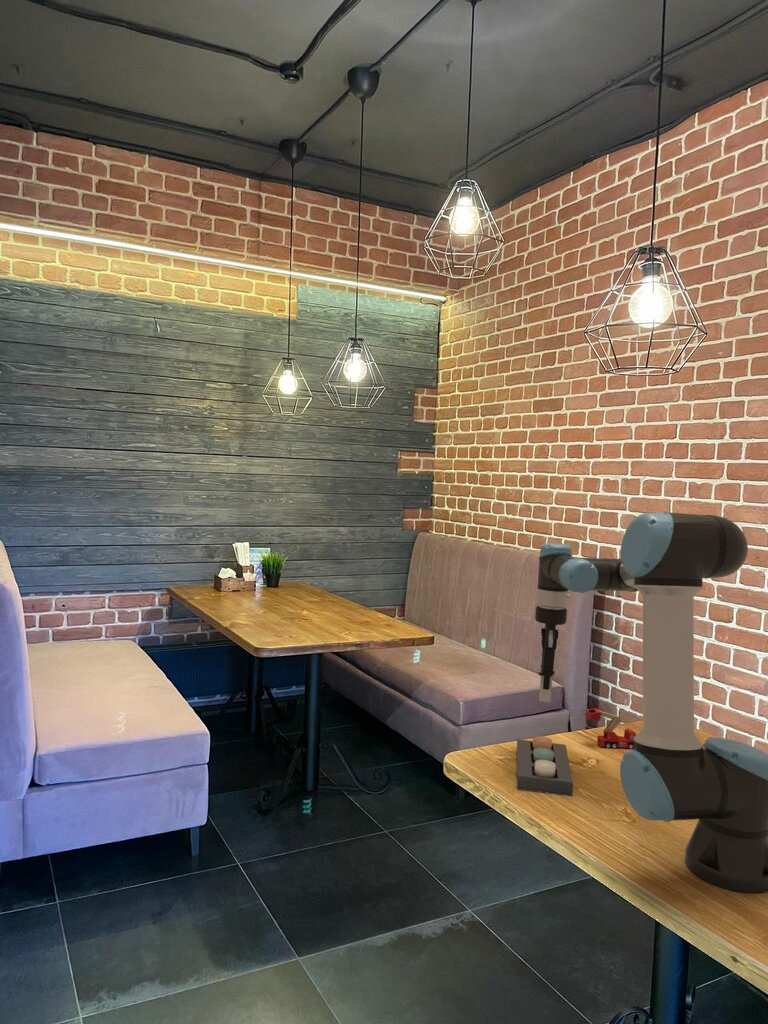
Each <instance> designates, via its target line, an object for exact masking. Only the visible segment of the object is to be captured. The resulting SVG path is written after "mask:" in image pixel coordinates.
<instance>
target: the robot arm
mask: <svg viewBox="0 0 768 1024" xmlns="http://www.w3.org/2000/svg"><path fill="white" fill-rule="evenodd" d="M748 547H749V545H748V541H747V537H746V535H745V534H744V532H743V531H742V529H741V528H740V527H739V526H738V525H737V524H736V523H735V522H734V521H732V520H730V519H728V518H726V517H723V516H719V515H715V514H714V515H713V514H693V513H682V512H680V513H679V512H668V511H667V512H666V511H660V512H645V513H642V514H639V515H637V516H635V518H634V519H632V521H630V523H629V525H628V527H626V530H625V532H624V534H623V537H622V540H621V546H620V558H604V557H603V558H601V557H599V558H597V557H593V558H592V557H578V556H577V557H576V556H573V554H572V547H571V546H570V544H565V543H556V542H548V543H547V542H546V543H542V545H541V546H540V551H539V556H538V572H537V573H538V575H537V586H536V587H537V588H536V595H535V596H536V598H535V604H536V606H535V614H534V619H535V621H536V622H537V623H540V624H544V628H543V627H541V631H540V635H541V642H540V643H541V644H540V645H541V647H542V648H541V649H542V650H541V665H540V668H541V669H540V671H539V672H538V676H540V681H539V696H538V697H539V698H538V701H539V702H545V703H551V699H552V689H553V688H552V687H553V676H554V675H555V673H556V671H554V664H555V656H556V649H557V646H558V645H557V643H558V642H557V641H558V639H559V629H556V627H557V625H558V626H562V625H565V624H566V623H567V617H568V615H567V614H568V609H567V608H566V607H567V606H568V603H569V600H568V599H570V598H571V594H569V591H571V592H573V593H580V594H582V593H589V592H590V591H601V592H602V591H612V592H614V591H615V592H629V593H633V592H639V593H640V594H641V596H642V728H641V730H640V731H639V732H638V733H636V736H635V737H634V747H633V749H630V750H629V751H627V752H625V753H624V754H623V756H622V759H621V760H620V766H619V767H620V768H619V773H620V781H621V785H622V789H623V792H624V795H625V796H626V798H627V801H628V802H629V805H630V807H631V808H632V809H633V811H635V813H636V814H637V815H638V816H640V817H641V818H643V819H645V820H647V821H663V822H666V823H667V822H669V823H670V822H672V821H689V820H698V821H697V823H696V825H695V827H694V830H693V832H692V833H691V836H690V838H689V840H688V842H687V844H686V847H685V853H684V856H685V857H684V862H685V864H686V866H687V869H689V870H690V871H691V872H692V873H694V874H695V875H696V876H697V877H699V878H701V879H702V880H703V881H706V882H708V883H711V884H712V885H715V886H717V887H720V888H723V889H726V890H727V889H728V890H731V891H735V892H740V893H748V894H749V893H751V894H753V893H766V892H768V754H767V753H766V752H764V751H763V750H761V749H759V748H757V747H755V746H752V745H749V744H747V743H745V742H741V741H737V740H734V739H730V738H726V737H725V738H724V737H715V736H711V737H708V738H706V739H705V741H704V743H703V742H702V740H700V739H699V737H697V735H696V734H695V662H694V661H695V659H694V657H695V652H694V649H695V647H694V645H695V643H694V631H695V630H694V598H695V596H696V595H697V594H698V593H699V592H701V590H703V586H704V585H703V579H717V578H718V579H719V578H723V577H724V578H725V577H727V576H730V575H732V574H734V573H736V572H737V571H739V569H740V568H741V567H742V566H743V565H744V563H745V562H746V559H747V557H748V551H749V548H748Z"/></svg>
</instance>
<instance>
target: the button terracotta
mask: <svg viewBox="0 0 768 1024" xmlns="http://www.w3.org/2000/svg"><path fill="white" fill-rule="evenodd" d="M532 741H533V746H532V750H533V751H534V749H535V748H548V749H551V748H552V743H553V740H552V739H551V738H550V737H547V736H541V735H537V736H534V737H532Z"/></svg>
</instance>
